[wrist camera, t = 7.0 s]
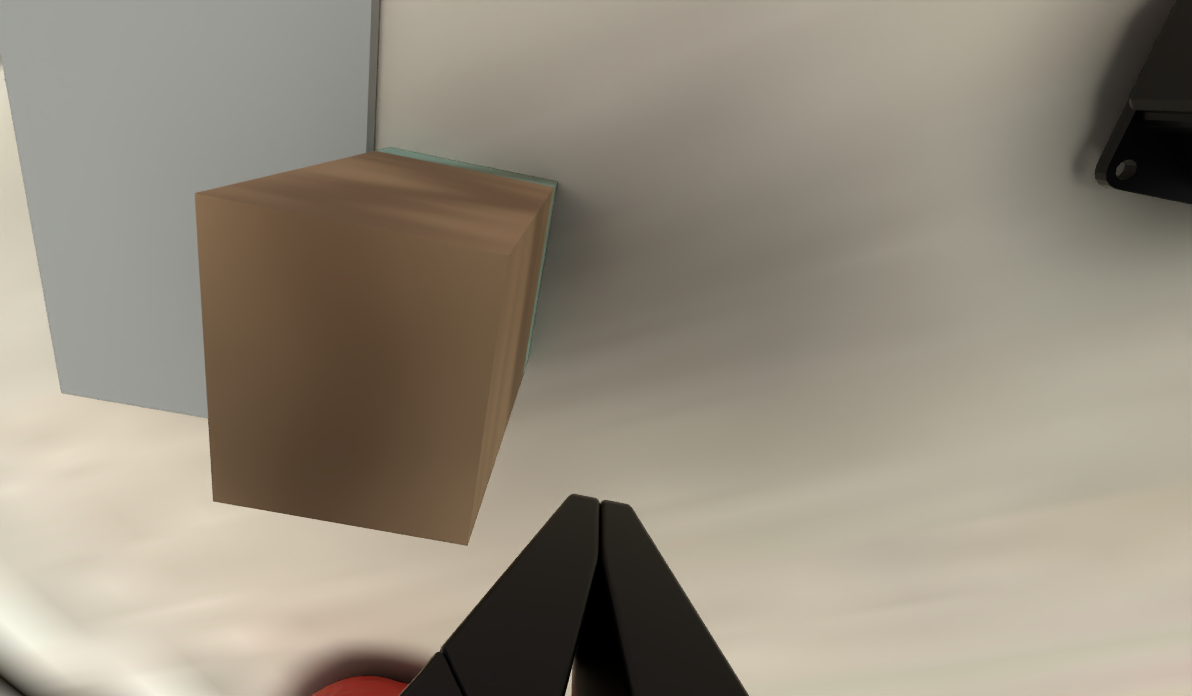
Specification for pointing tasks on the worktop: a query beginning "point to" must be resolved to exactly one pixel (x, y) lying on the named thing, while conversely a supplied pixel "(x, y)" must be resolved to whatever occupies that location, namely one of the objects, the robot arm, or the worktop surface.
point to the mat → (165, 158)
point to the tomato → (363, 687)
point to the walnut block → (368, 335)
